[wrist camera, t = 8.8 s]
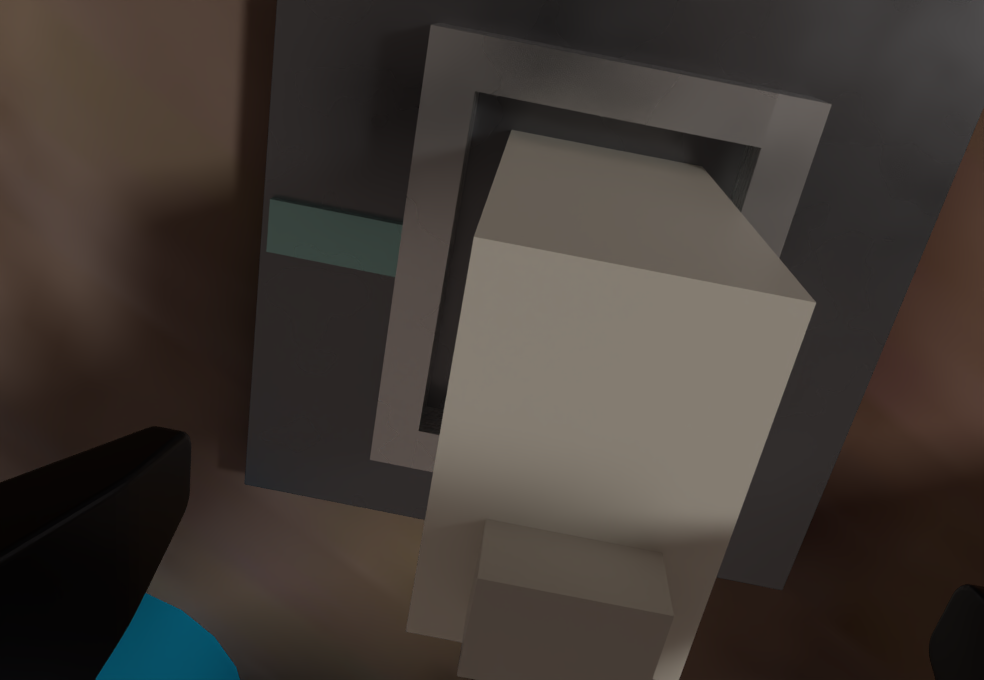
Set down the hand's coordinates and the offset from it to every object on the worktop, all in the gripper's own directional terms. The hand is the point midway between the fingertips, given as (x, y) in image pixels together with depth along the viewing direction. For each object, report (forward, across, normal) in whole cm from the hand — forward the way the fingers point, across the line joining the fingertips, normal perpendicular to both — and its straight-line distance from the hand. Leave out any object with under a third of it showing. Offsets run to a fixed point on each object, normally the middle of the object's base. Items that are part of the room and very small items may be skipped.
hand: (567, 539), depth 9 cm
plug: (+9, 0, 0) cm, 9 cm away
